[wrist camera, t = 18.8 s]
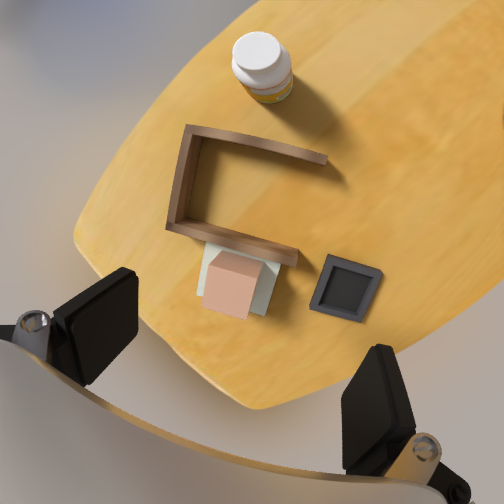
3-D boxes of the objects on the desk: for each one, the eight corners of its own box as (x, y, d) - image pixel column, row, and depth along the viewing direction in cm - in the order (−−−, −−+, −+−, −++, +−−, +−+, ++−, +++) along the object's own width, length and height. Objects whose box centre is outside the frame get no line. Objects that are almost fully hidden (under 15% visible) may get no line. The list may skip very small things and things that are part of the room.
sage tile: (283, 253, 32) (282, 257, 31) (266, 310, 35) (264, 316, 33) (211, 232, 33) (207, 235, 31) (200, 289, 35) (196, 294, 34)
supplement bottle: (246, 63, 26) (225, 27, 17) (293, 63, 25) (289, 24, 16) (245, 104, 27) (221, 79, 18) (293, 105, 27) (289, 78, 18)
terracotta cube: (263, 261, 31) (257, 278, 26) (253, 299, 33) (246, 320, 28) (222, 250, 32) (208, 264, 27) (214, 287, 33) (201, 306, 28)
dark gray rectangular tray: (380, 269, 30) (382, 273, 29) (359, 317, 33) (360, 322, 32) (327, 253, 31) (328, 256, 30) (309, 304, 33) (309, 309, 32)
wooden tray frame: (324, 157, 28) (328, 155, 25) (295, 257, 32) (295, 267, 29) (197, 128, 29) (185, 124, 26) (178, 223, 33) (165, 229, 30)
